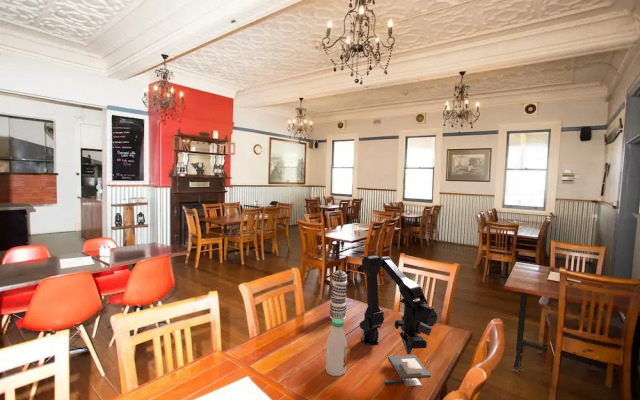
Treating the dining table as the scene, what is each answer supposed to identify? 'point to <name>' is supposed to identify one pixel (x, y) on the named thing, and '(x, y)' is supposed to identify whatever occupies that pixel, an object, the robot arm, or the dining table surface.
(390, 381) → the turner
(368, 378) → the dining table surface
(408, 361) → the tile
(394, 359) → the mat
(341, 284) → the decorative candle
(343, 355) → the milk bottle
